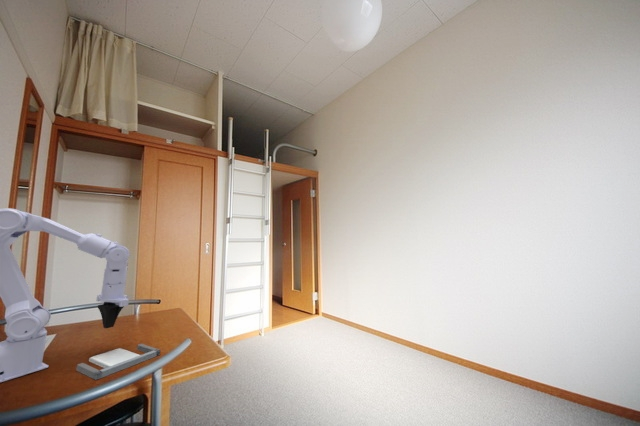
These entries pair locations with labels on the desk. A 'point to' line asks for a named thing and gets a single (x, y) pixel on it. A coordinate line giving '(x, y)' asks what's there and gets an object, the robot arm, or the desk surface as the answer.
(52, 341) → the desk surface
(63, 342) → the desk surface
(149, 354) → the drive bay
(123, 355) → the hard drive
